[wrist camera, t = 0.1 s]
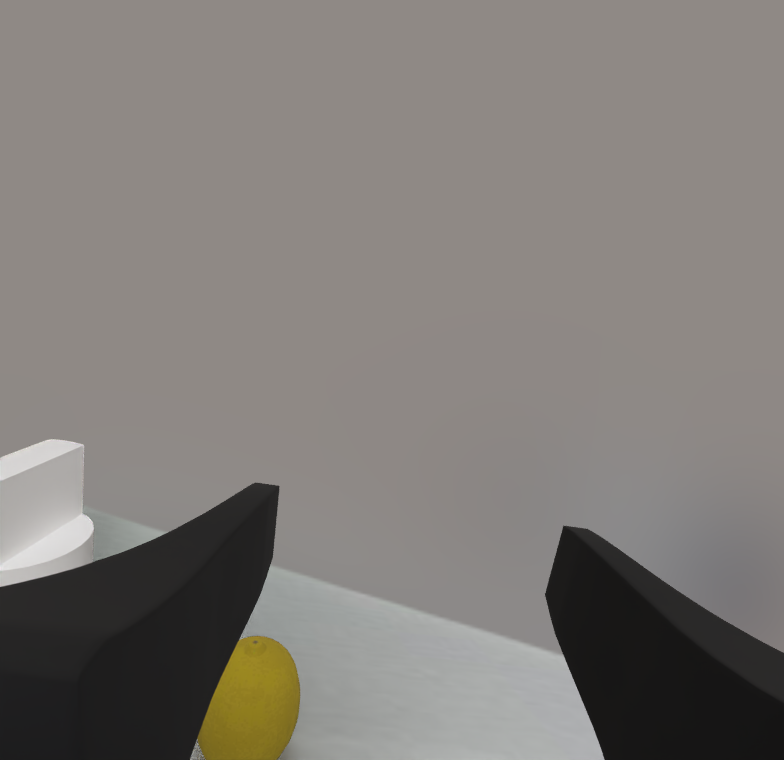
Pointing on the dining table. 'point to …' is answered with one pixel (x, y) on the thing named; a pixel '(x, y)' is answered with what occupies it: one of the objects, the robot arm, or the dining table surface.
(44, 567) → the cylinder with rectangular tab
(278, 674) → the lemon
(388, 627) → the dining table surface
